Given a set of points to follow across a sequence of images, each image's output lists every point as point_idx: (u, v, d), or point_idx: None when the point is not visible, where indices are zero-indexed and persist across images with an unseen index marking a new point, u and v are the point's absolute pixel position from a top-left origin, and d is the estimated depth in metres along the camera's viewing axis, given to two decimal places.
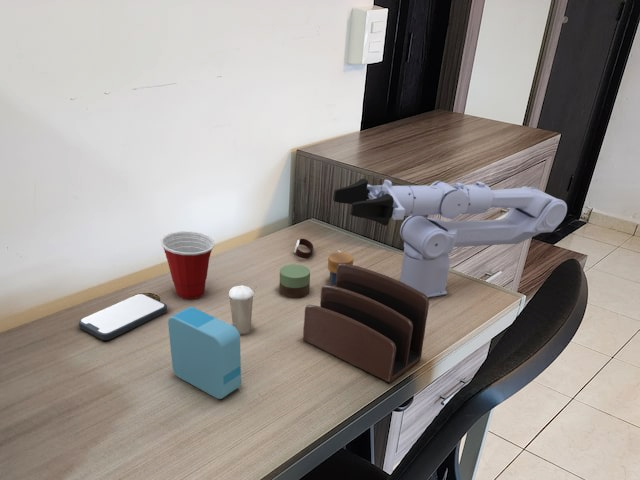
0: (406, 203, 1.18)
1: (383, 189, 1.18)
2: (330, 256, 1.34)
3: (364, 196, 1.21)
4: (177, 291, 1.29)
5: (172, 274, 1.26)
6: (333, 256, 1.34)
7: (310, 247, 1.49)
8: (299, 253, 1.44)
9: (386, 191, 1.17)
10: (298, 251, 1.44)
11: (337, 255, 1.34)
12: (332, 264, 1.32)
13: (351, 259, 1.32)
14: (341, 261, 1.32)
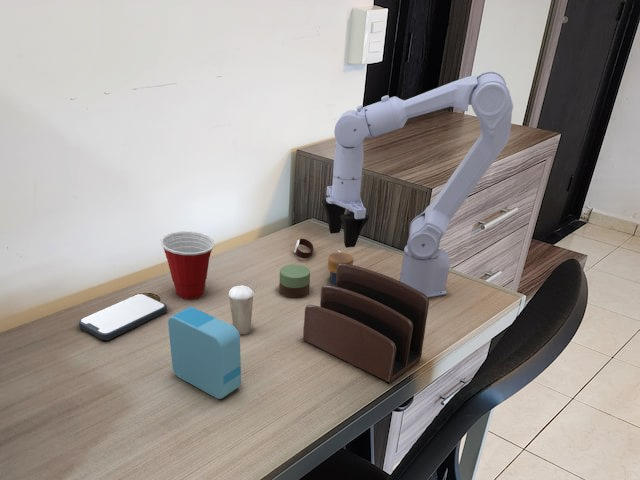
0: (350, 187, 1.22)
1: None
2: (330, 256, 1.34)
3: None
4: (177, 291, 1.29)
5: (172, 274, 1.26)
6: (333, 256, 1.34)
7: (310, 247, 1.49)
8: (299, 253, 1.44)
9: None
10: (298, 251, 1.44)
11: (337, 255, 1.34)
12: (332, 264, 1.32)
13: (351, 259, 1.32)
14: (341, 261, 1.32)
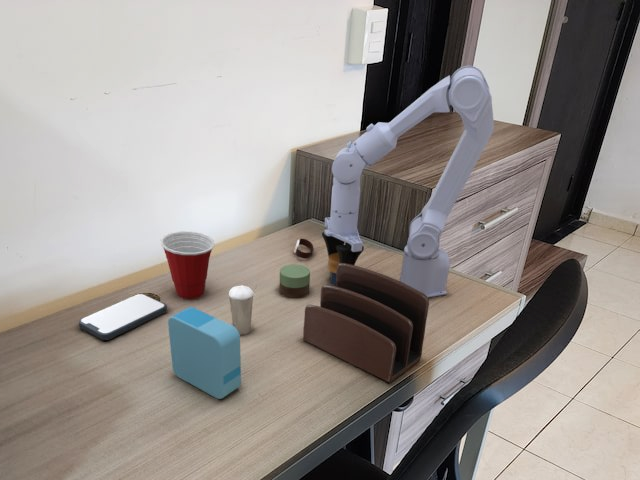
0: (347, 221, 1.26)
1: None
2: (330, 256, 1.34)
3: None
4: (177, 291, 1.29)
5: (172, 274, 1.26)
6: (333, 256, 1.34)
7: (310, 247, 1.49)
8: (299, 253, 1.44)
9: None
10: (298, 251, 1.44)
11: (337, 255, 1.34)
12: (332, 264, 1.32)
13: None
14: None
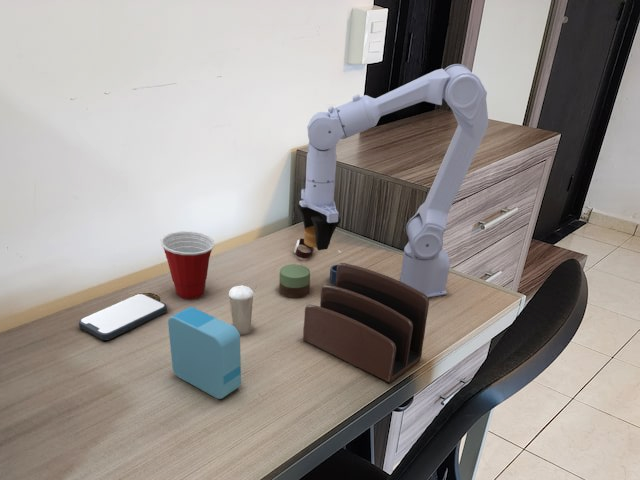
0: (323, 190, 1.20)
1: None
2: (306, 229, 1.27)
3: None
4: (177, 291, 1.29)
5: (172, 274, 1.26)
6: (310, 229, 1.28)
7: (310, 247, 1.49)
8: (299, 253, 1.44)
9: None
10: (298, 251, 1.44)
11: (314, 228, 1.28)
12: (308, 237, 1.26)
13: None
14: None
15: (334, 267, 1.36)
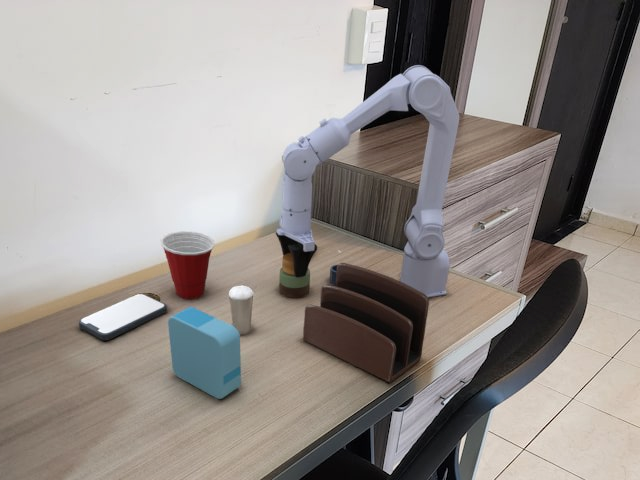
0: (299, 219, 1.21)
1: None
2: (284, 256, 1.28)
3: None
4: (177, 291, 1.29)
5: (172, 274, 1.26)
6: (288, 256, 1.29)
7: None
8: None
9: None
10: None
11: None
12: (286, 265, 1.27)
13: None
14: None
15: (334, 267, 1.36)
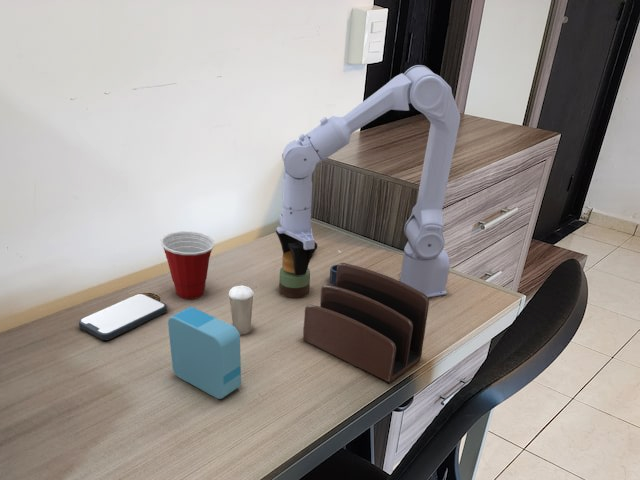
0: (299, 217, 1.20)
1: None
2: (284, 254, 1.28)
3: None
4: (177, 291, 1.29)
5: (172, 274, 1.26)
6: (288, 254, 1.28)
7: None
8: None
9: None
10: None
11: None
12: (285, 263, 1.27)
13: None
14: None
15: (334, 267, 1.36)
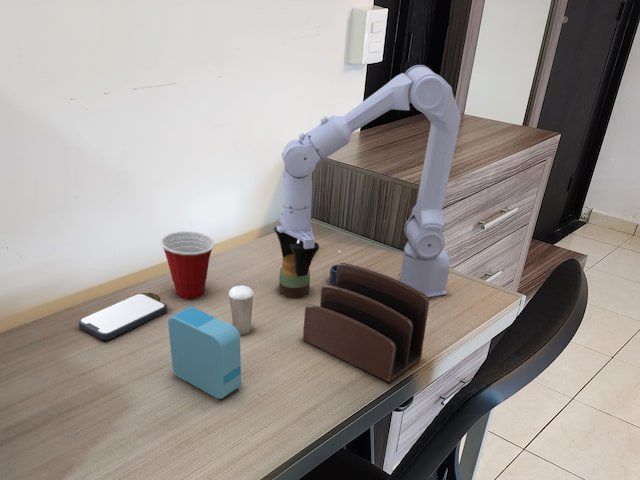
0: (299, 217, 1.20)
1: None
2: (284, 258, 1.29)
3: None
4: (177, 291, 1.29)
5: (172, 274, 1.26)
6: (288, 258, 1.29)
7: None
8: None
9: None
10: None
11: (291, 257, 1.29)
12: (285, 267, 1.27)
13: None
14: None
15: (334, 267, 1.36)
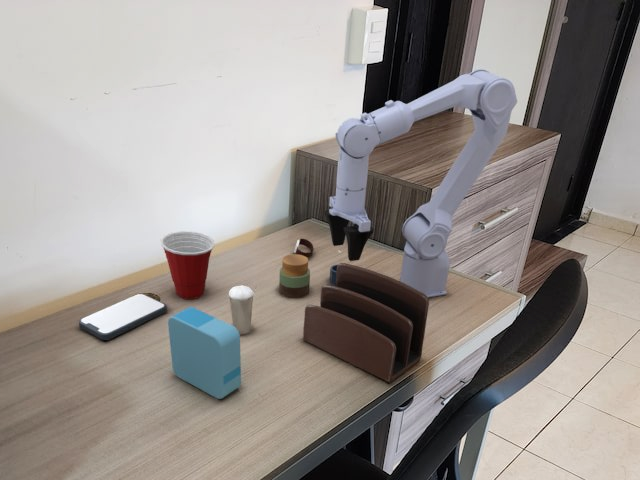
0: (354, 199, 1.17)
1: None
2: (284, 258, 1.29)
3: None
4: (177, 291, 1.29)
5: (172, 274, 1.26)
6: (288, 258, 1.29)
7: (310, 247, 1.49)
8: (299, 253, 1.44)
9: None
10: (298, 251, 1.44)
11: (291, 257, 1.29)
12: (285, 267, 1.27)
13: (306, 261, 1.27)
14: (295, 263, 1.27)
15: (334, 267, 1.36)
